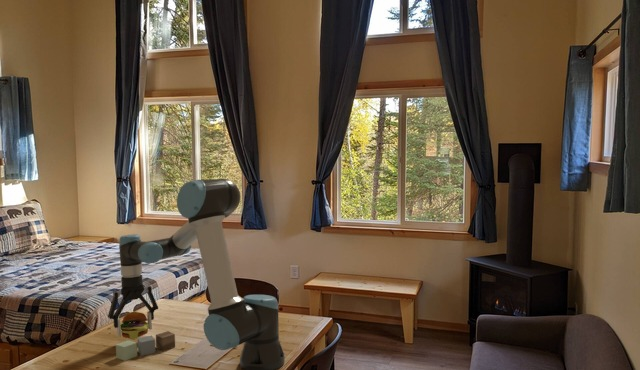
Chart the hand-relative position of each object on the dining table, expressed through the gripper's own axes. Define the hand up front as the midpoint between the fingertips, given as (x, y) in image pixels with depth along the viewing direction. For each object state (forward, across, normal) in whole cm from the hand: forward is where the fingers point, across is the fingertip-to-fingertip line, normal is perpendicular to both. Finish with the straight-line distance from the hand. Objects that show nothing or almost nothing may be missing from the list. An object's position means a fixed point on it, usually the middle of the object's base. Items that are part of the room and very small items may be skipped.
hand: (134, 332), depth 185 cm
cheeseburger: (+1, 0, 0) cm, 1 cm away
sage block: (+5, +6, +12) cm, 14 cm away
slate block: (+5, -1, +12) cm, 12 cm away
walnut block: (+5, -8, +12) cm, 15 cm away
